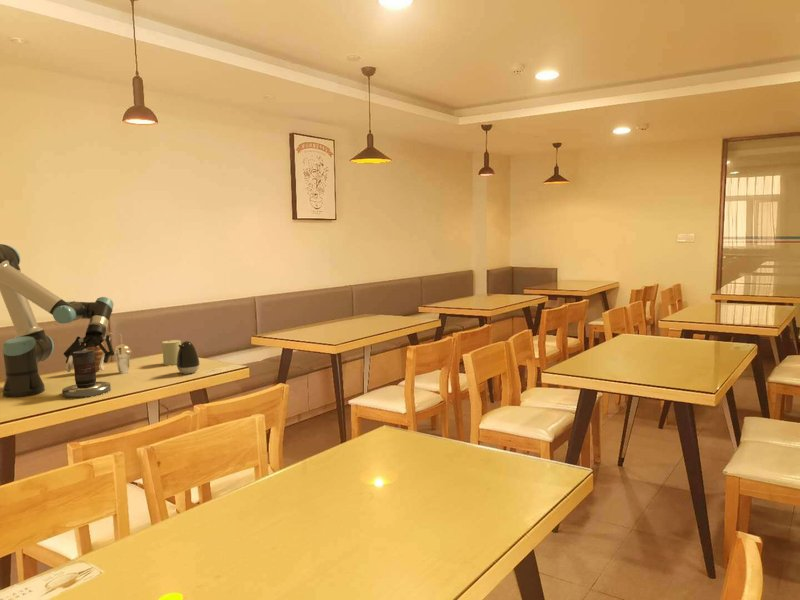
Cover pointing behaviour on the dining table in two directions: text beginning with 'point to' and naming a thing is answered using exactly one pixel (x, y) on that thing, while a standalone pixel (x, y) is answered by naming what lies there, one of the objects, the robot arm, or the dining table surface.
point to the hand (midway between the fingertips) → (84, 369)
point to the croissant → (97, 355)
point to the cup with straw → (122, 356)
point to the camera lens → (84, 368)
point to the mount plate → (86, 390)
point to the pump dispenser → (187, 358)
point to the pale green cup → (170, 351)
